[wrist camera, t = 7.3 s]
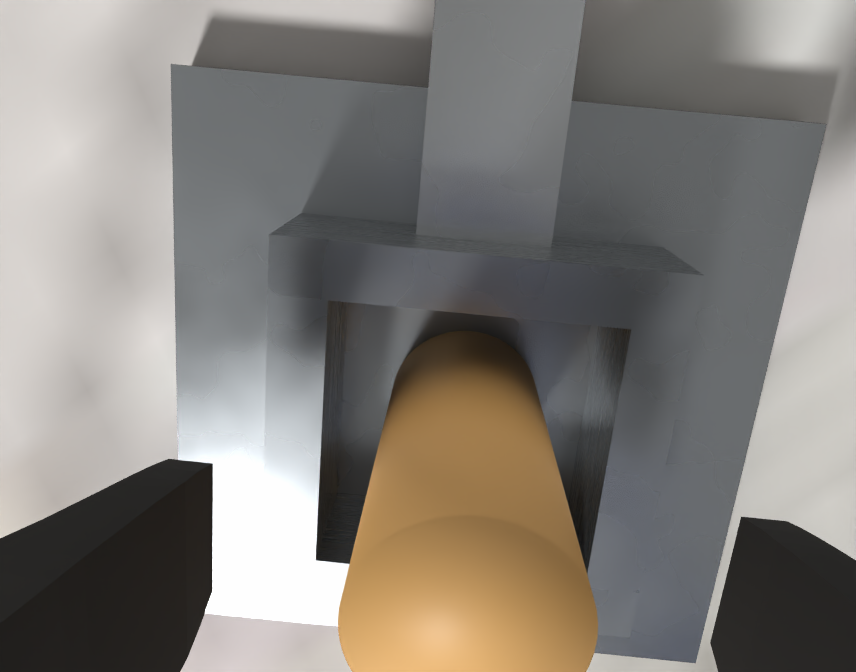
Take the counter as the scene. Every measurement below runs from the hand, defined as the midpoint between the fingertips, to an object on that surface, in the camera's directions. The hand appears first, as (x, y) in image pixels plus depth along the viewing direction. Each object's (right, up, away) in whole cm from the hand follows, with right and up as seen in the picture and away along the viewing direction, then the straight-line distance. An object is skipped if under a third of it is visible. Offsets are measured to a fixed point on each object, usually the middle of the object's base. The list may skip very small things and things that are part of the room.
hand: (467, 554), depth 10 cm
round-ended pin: (0, +2, +5) cm, 5 cm away
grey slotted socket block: (0, +2, +6) cm, 6 cm away
